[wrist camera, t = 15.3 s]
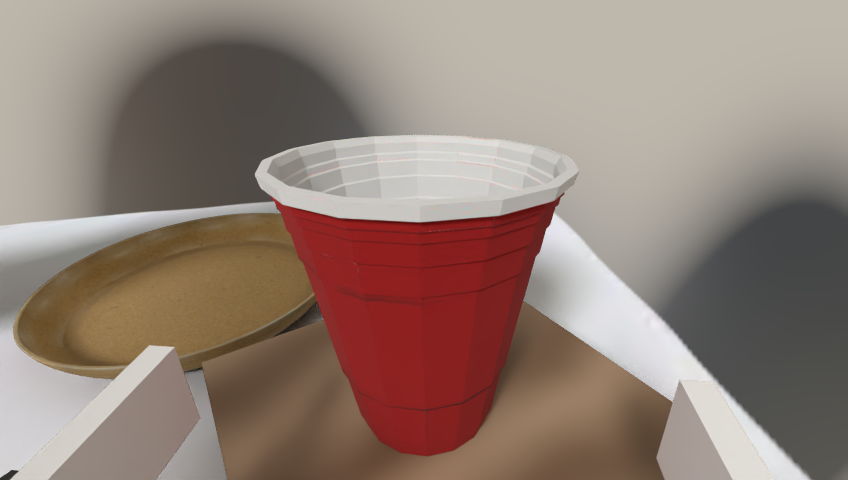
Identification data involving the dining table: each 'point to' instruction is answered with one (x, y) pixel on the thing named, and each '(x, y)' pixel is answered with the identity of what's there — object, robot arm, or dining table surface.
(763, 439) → the dining table surface
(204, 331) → the plant saucer
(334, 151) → the plastic cup
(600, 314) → the dining table surface
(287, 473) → the walnut podium
